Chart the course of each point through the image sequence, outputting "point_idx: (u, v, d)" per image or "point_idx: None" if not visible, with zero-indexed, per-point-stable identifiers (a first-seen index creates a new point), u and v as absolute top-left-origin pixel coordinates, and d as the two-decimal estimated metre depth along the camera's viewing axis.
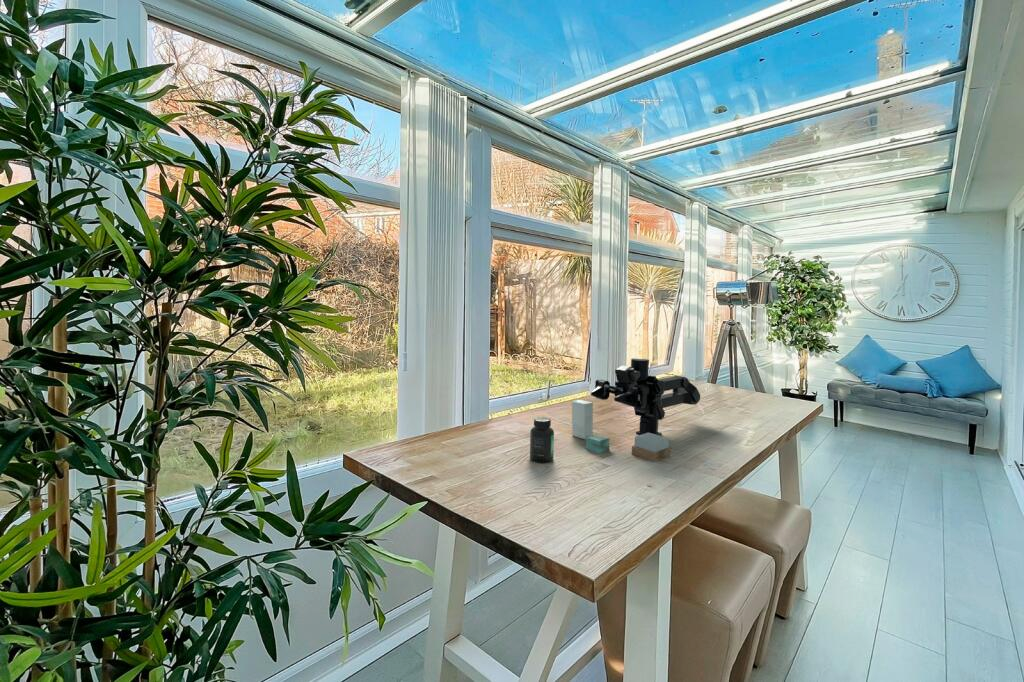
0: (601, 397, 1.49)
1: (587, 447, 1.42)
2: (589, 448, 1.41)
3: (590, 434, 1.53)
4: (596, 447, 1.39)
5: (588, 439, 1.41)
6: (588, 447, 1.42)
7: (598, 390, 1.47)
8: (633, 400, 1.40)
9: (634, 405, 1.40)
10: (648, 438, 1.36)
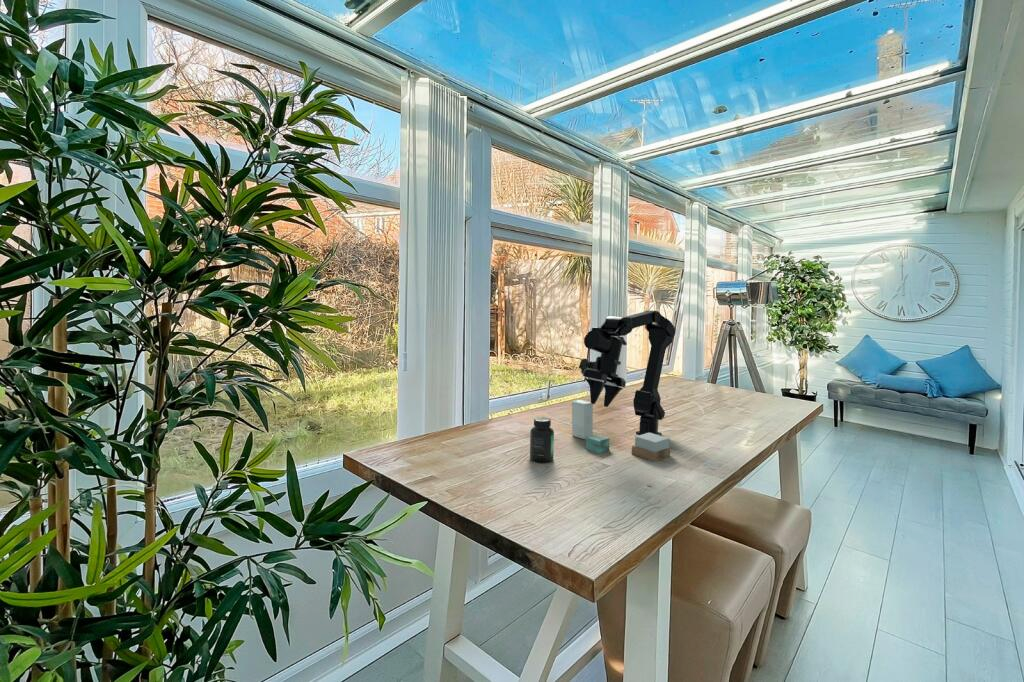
0: (615, 391, 1.44)
1: (587, 447, 1.42)
2: (589, 448, 1.41)
3: (590, 434, 1.53)
4: (596, 447, 1.39)
5: (588, 439, 1.41)
6: (588, 447, 1.42)
7: (606, 395, 1.45)
8: (596, 382, 1.36)
9: (600, 383, 1.34)
10: (648, 438, 1.36)
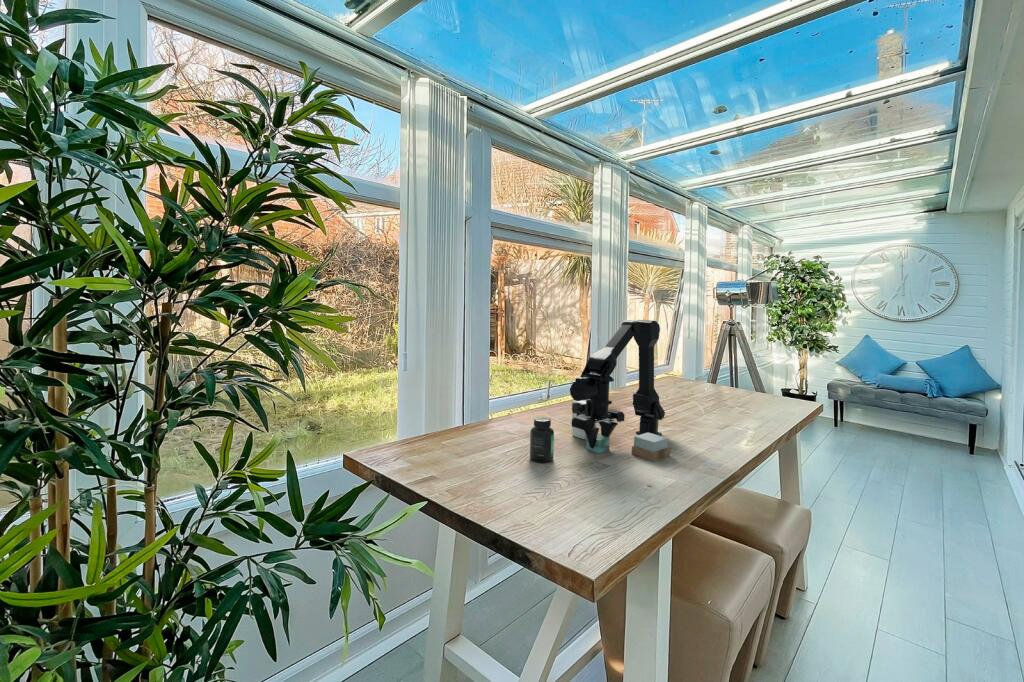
0: (609, 429, 1.42)
1: (587, 447, 1.42)
2: (589, 448, 1.41)
3: None
4: (596, 446, 1.39)
5: None
6: (588, 447, 1.42)
7: (602, 433, 1.44)
8: None
9: None
10: (647, 438, 1.36)
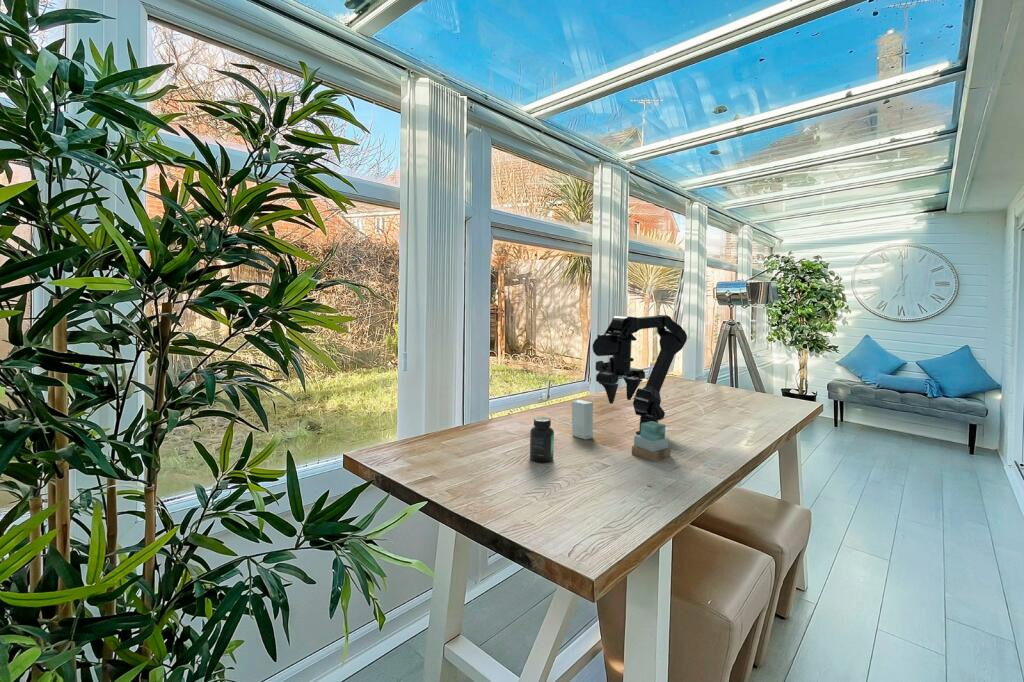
0: (634, 384, 1.52)
1: (641, 434, 1.37)
2: (644, 435, 1.37)
3: (590, 434, 1.53)
4: (651, 434, 1.34)
5: (643, 425, 1.37)
6: (642, 434, 1.37)
7: (627, 389, 1.54)
8: None
9: (612, 386, 1.44)
10: None
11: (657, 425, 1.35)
